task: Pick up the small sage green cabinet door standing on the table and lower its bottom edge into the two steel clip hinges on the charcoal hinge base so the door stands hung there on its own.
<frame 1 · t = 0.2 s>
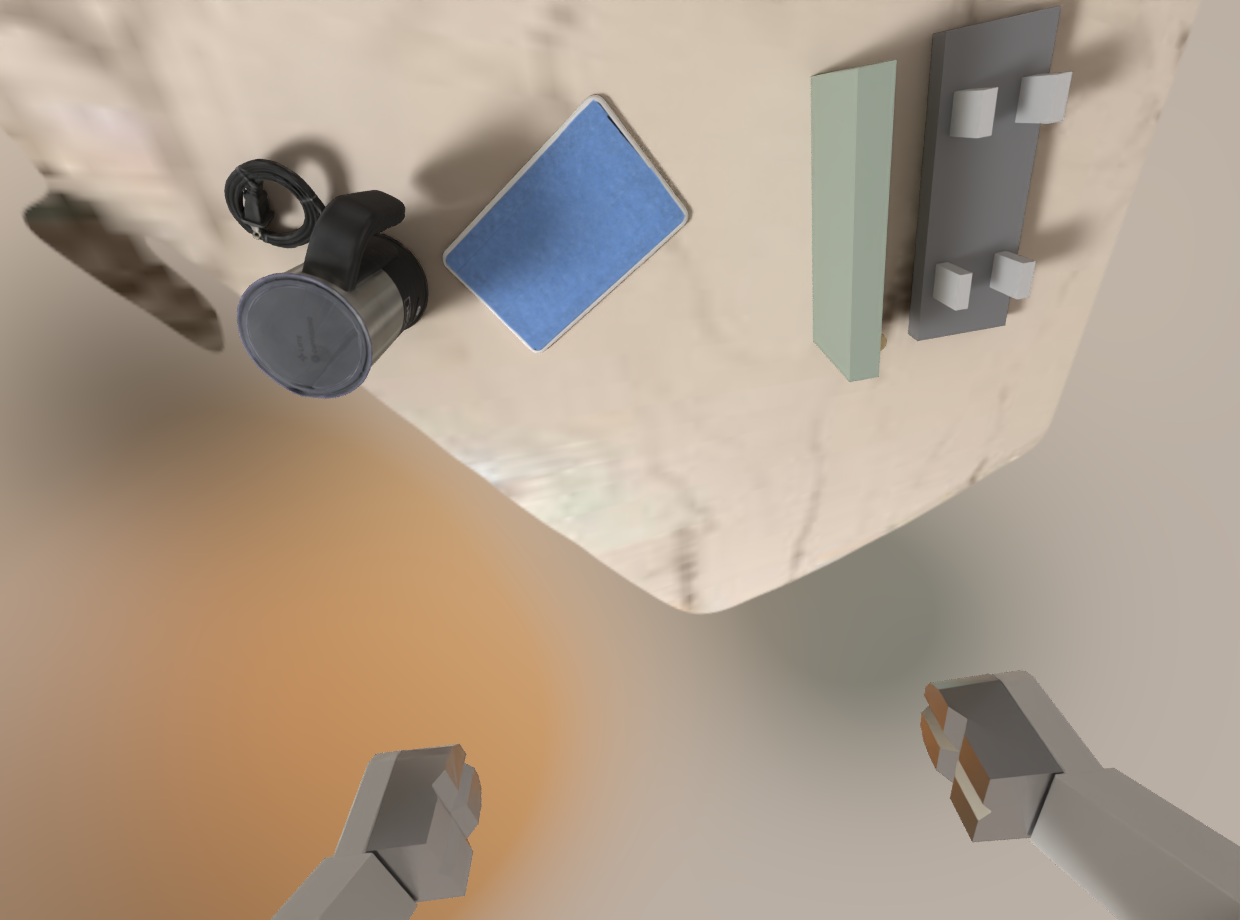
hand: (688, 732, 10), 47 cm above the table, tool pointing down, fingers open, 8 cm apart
tablet computer: (564, 236, 51), on the table
milk frother: (339, 251, 51), on the table
cabinet door: (825, 220, 50), on the table
hinge base: (966, 193, 49), on the table
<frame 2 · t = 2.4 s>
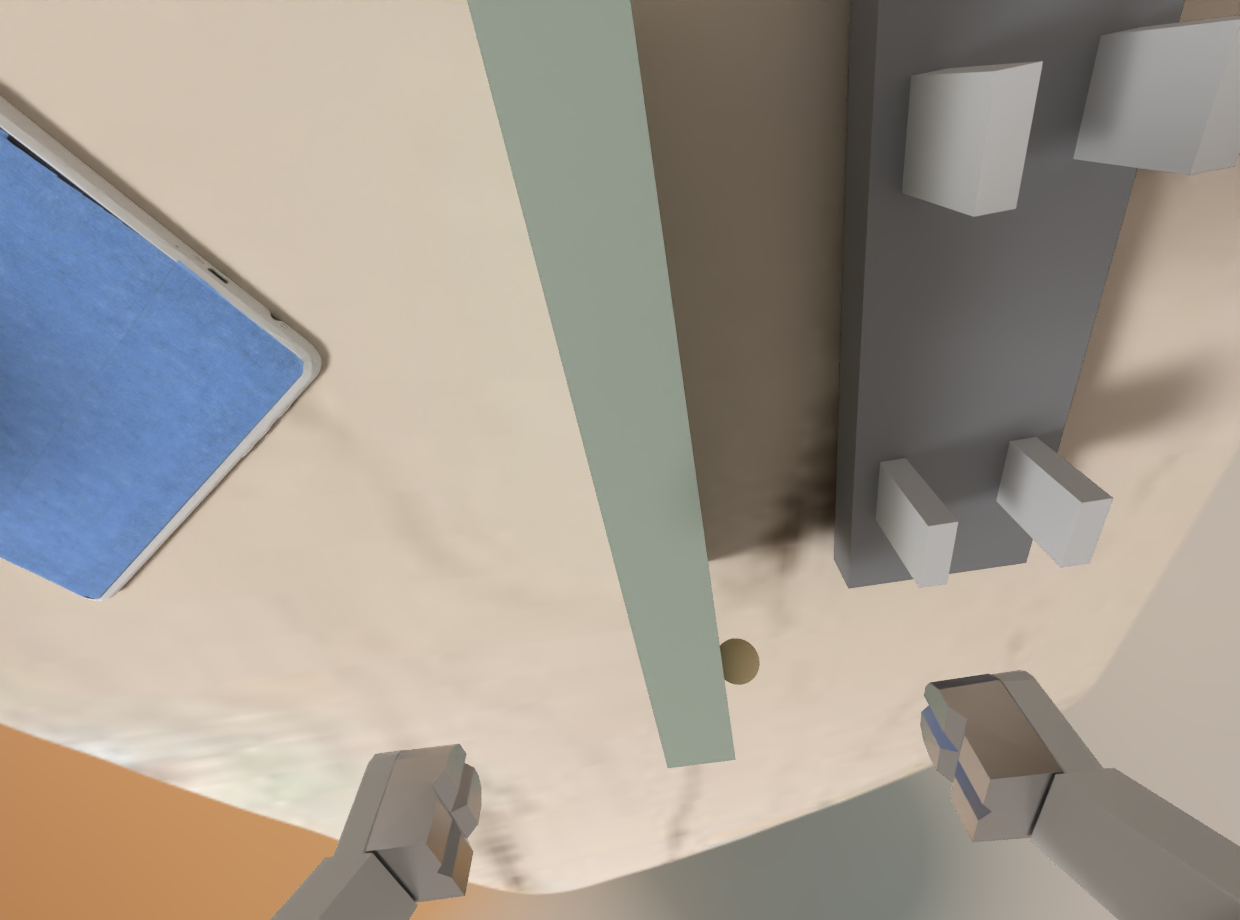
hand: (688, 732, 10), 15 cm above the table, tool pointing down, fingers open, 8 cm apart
tablet computer: (70, 394, 23), on the table
cabinet door: (635, 366, 22), on the table
hinge base: (948, 311, 21), on the table
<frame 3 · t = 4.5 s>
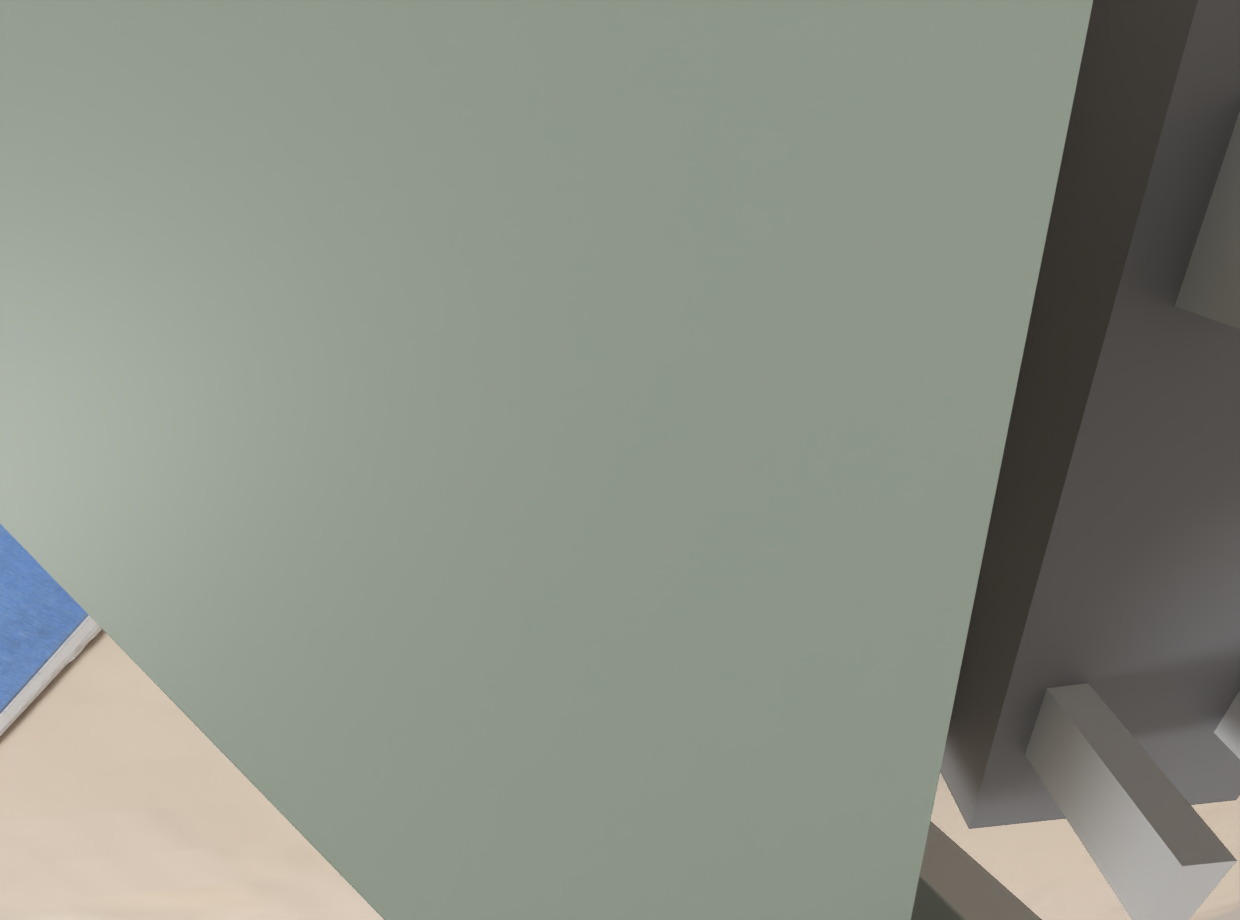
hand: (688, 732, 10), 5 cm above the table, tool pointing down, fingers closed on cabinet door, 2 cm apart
cabinet door: (664, 541, 14), on the table, touching gripper
hinge base: (1168, 464, 13), on the table
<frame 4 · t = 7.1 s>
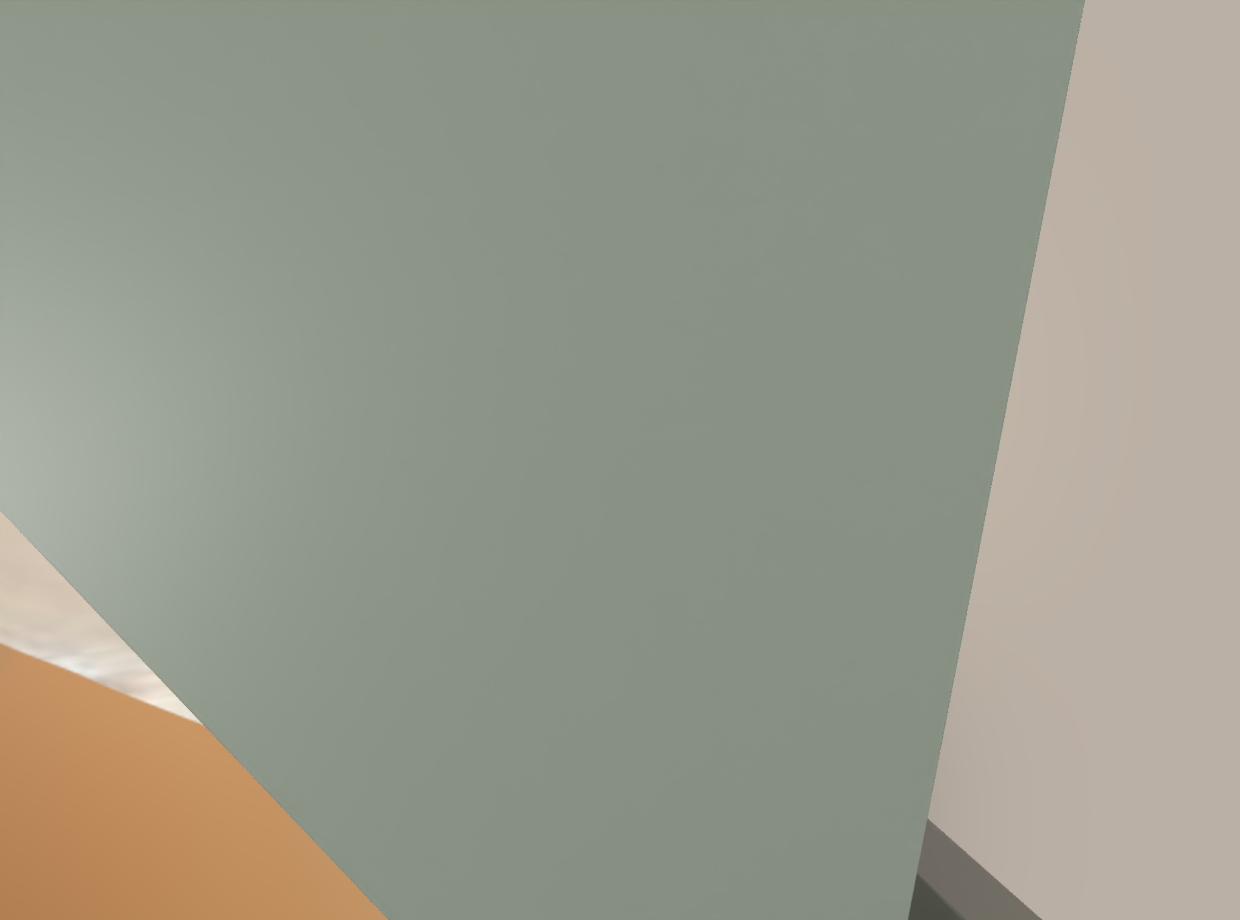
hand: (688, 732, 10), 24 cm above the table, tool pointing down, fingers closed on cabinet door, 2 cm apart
cabinet door: (663, 544, 14), point 19 cm above the table, touching gripper
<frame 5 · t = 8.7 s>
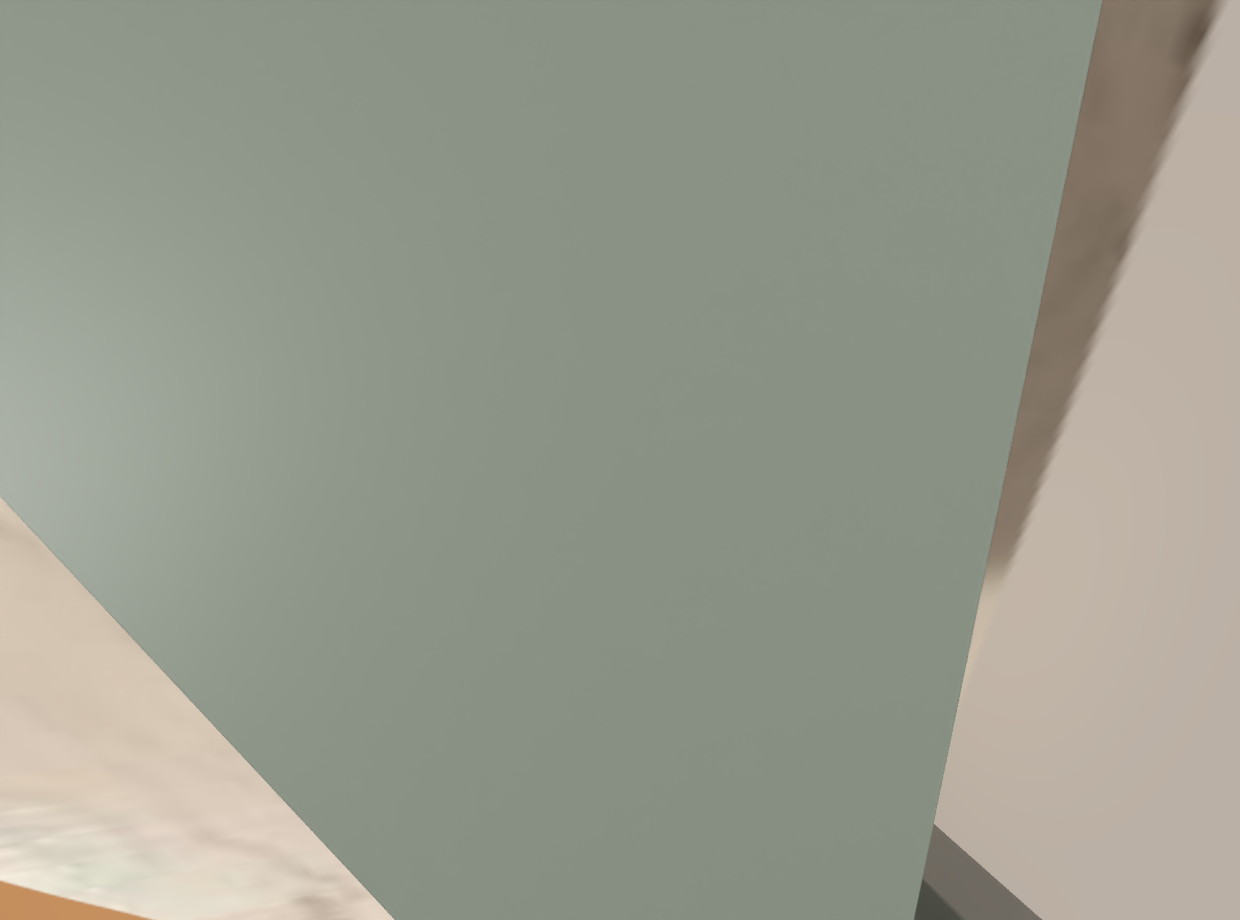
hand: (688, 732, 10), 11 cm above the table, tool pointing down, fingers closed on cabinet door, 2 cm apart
cabinet door: (664, 544, 14), point 6 cm above the table, touching gripper
when the fingers open (8 cm above the table, at t = 10.0 s): cabinet door stays where it is, resting on hinge base.
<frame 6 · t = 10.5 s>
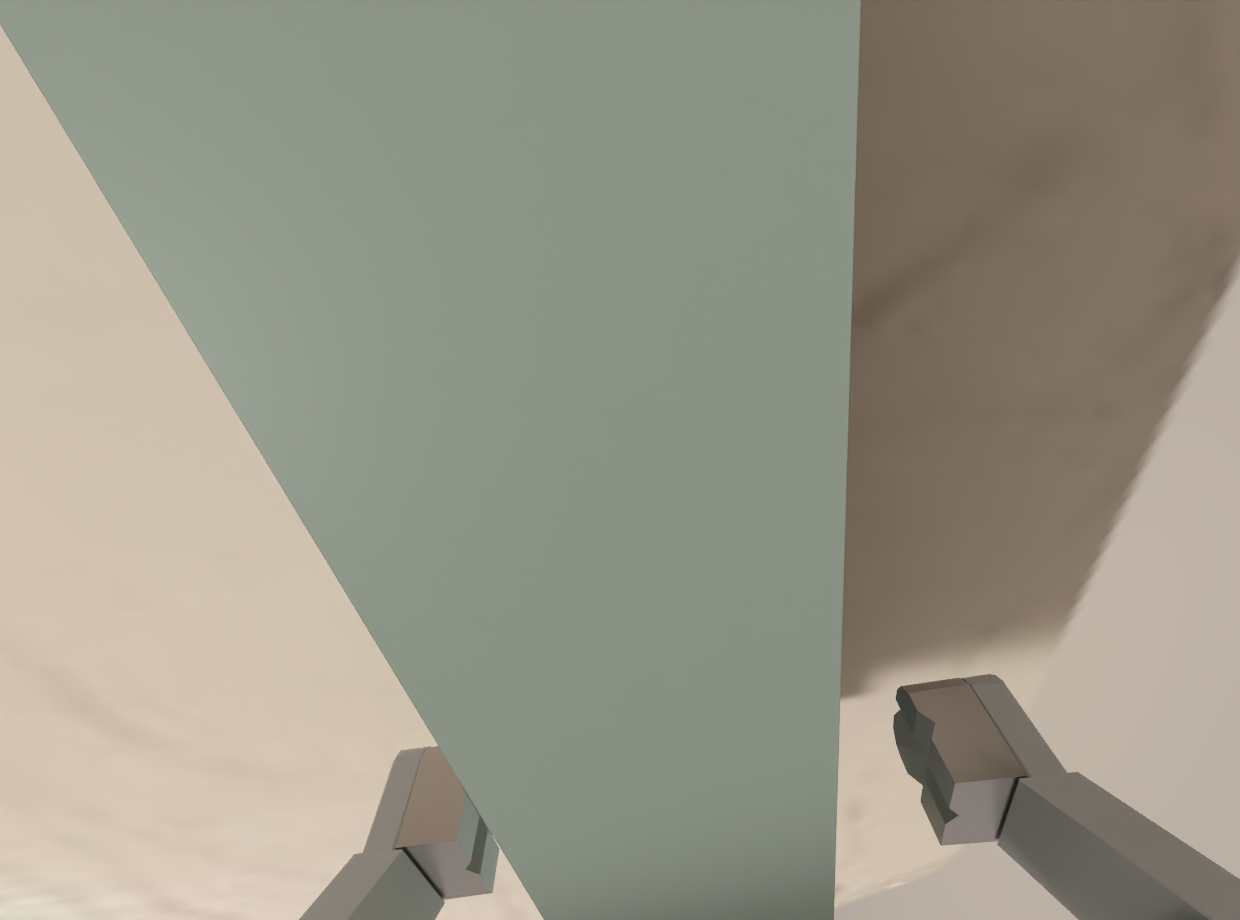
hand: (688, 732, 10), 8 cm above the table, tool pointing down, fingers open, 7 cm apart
cabinet door: (660, 522, 15), point 2 cm above the table, touching hinge base
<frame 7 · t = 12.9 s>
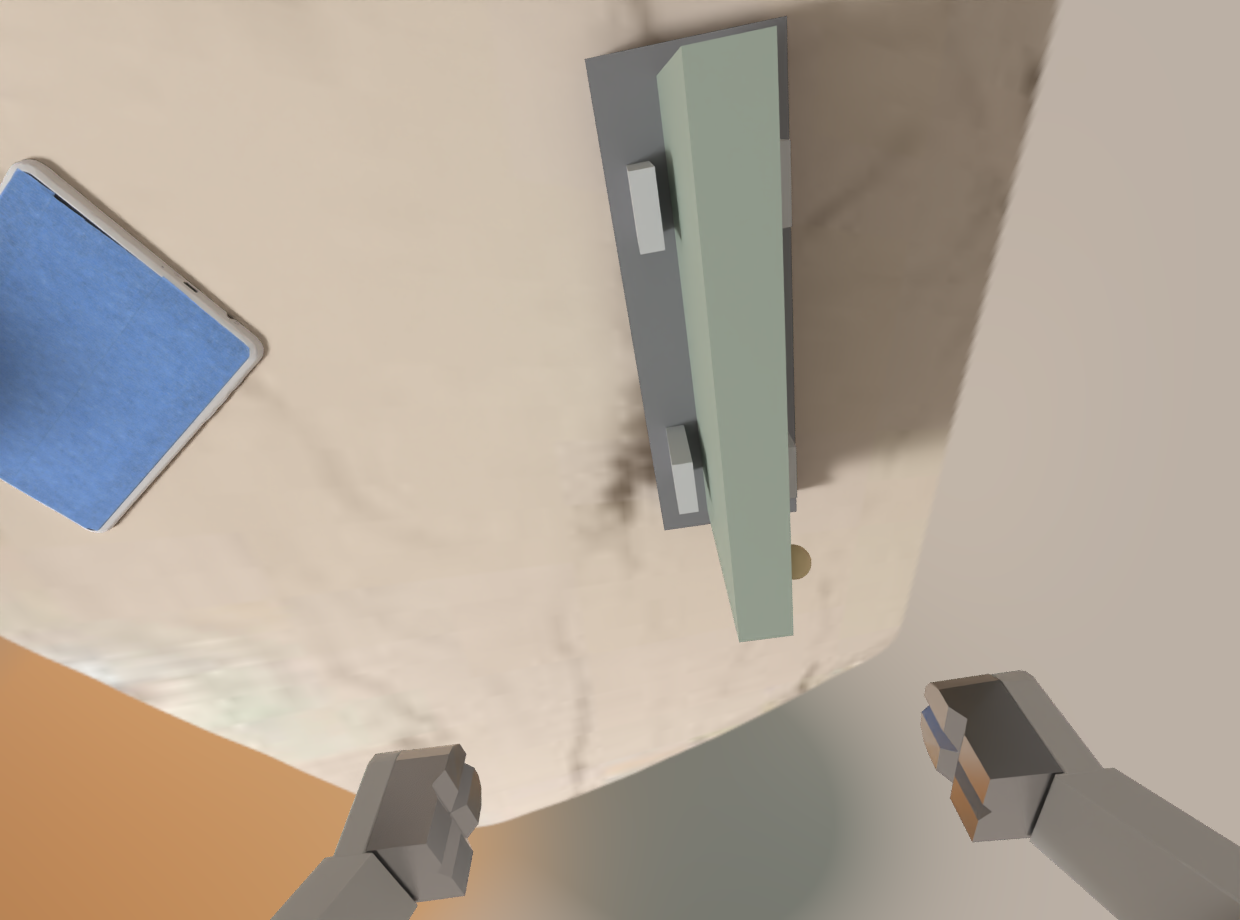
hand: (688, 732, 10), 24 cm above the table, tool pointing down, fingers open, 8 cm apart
tablet computer: (85, 371, 32), on the table
cabinet door: (710, 331, 28), point 2 cm above the table, touching hinge base
hinge base: (706, 319, 30), on the table
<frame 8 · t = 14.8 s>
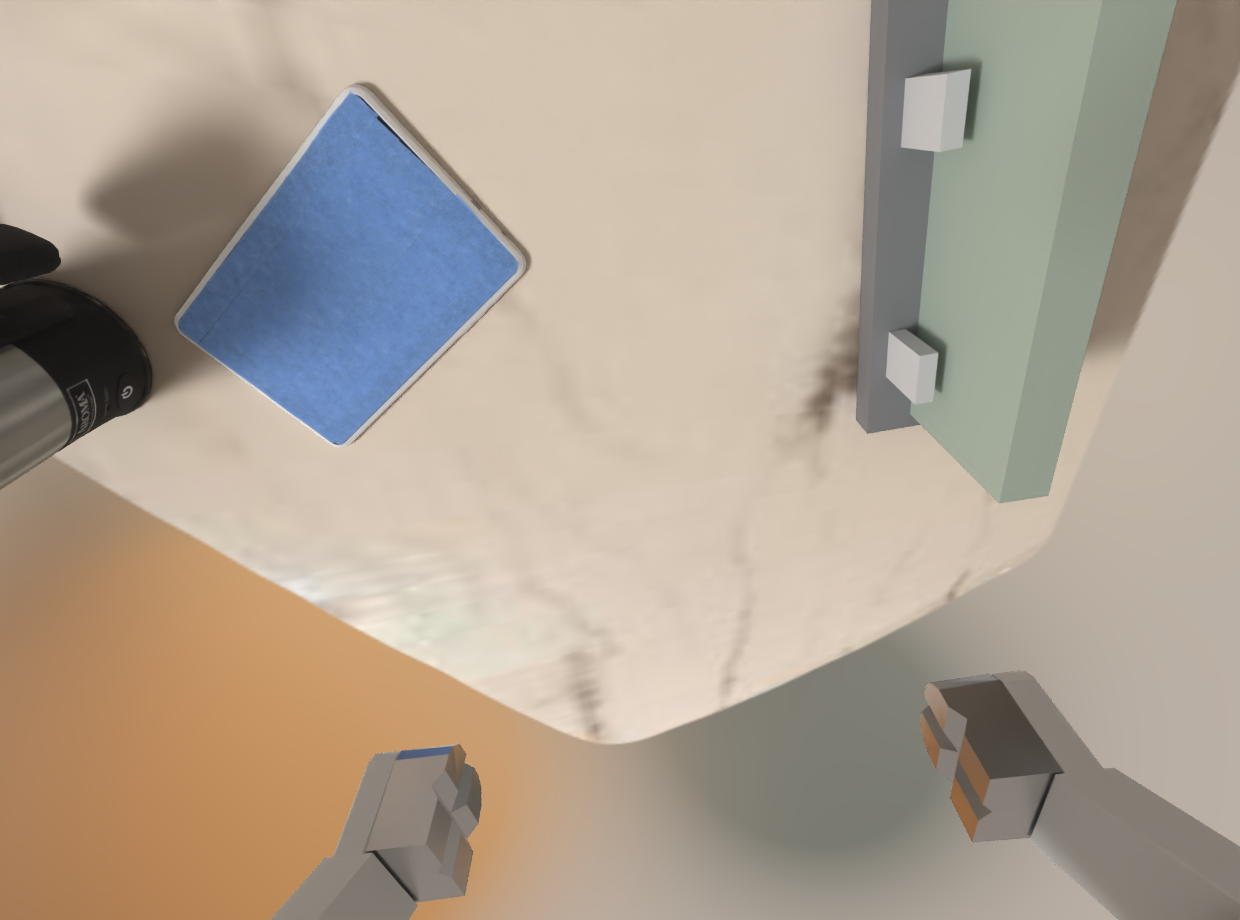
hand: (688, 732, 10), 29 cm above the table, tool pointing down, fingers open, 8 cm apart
tablet computer: (354, 290, 35), on the table
milk frother: (7, 307, 35), on the table
cabinet door: (948, 237, 32), point 2 cm above the table, touching hinge base
hinge base: (931, 230, 33), on the table
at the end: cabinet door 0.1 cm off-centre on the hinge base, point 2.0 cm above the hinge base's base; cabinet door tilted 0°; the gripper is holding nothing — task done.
